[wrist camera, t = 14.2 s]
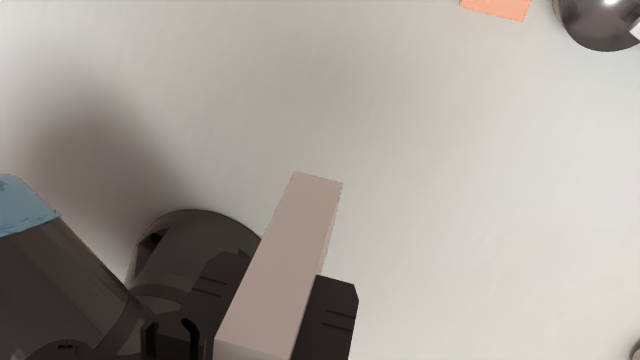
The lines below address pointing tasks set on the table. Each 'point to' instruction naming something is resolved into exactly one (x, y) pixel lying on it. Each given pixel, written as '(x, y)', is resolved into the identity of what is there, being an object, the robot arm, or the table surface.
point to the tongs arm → (635, 28)
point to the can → (637, 355)
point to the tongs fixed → (599, 22)
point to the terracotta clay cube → (499, 7)
